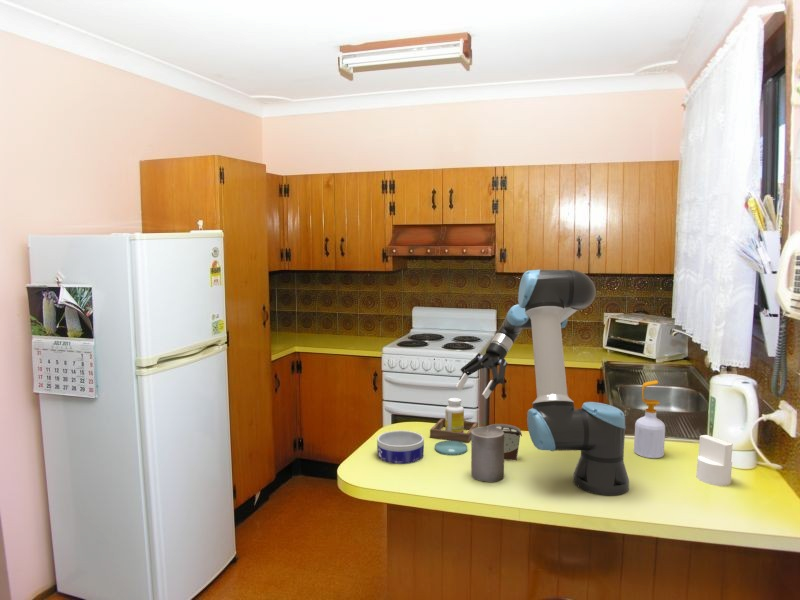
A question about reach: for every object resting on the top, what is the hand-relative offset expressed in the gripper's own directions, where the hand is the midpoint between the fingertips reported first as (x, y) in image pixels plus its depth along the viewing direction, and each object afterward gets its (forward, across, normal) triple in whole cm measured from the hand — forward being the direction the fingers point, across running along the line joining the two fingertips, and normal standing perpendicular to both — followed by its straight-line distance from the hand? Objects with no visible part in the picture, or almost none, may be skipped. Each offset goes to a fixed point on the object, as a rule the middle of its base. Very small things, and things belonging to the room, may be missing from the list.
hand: (470, 392), depth 213 cm
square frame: (+16, -1, -4) cm, 16 cm away
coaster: (+24, -11, +5) cm, 27 cm away
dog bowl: (+36, -4, +16) cm, 40 cm away
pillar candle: (+29, -33, +9) cm, 45 cm away
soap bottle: (-10, -54, -30) cm, 63 cm away
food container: (+18, -25, -2) cm, 31 cm away
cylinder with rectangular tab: (-7, -76, -27) cm, 81 cm away
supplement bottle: (+16, -1, -4) cm, 17 cm away
